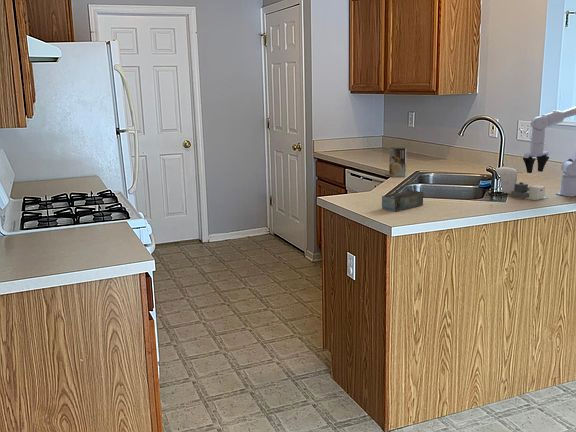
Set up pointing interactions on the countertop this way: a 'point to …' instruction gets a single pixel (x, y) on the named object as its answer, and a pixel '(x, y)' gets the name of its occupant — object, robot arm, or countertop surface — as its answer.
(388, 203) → the beverage carton
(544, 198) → the pad
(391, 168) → the coffee box
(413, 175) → the countertop surface
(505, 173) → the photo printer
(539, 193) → the block
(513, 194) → the power strip
